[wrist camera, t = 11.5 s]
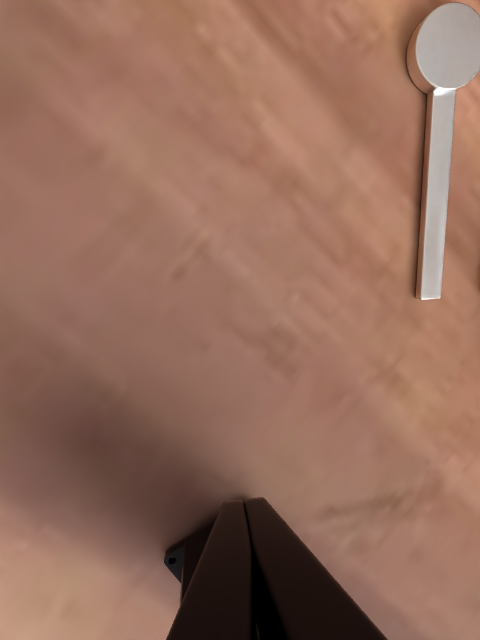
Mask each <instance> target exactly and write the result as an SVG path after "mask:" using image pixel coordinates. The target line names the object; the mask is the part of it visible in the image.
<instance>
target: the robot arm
mask: <svg viewBox="0 0 480 640" xmlns="http://www.w3.org/2000/svg"><path fill="white" fill-rule="evenodd" d="M171 557H175V558H171ZM164 563H165V565H166V566H167V567H168V569H169V570H170V571H171V572H172V573H173V574H174V576H175V577H176V578H177V579H178V580H179V581H180V583H181V596H180V608H179V610H178V612H177V615H176V617H175V620H174V622H173V624H172V627H171V629H170V632H169V634H168V636H167V639H166V640H388V639H387V638H386V637H385V636H384V635H383V634H382V632H381V631H380V630H379V629H378V628H377V627H376V626H375V624H374V623H373V622H372V621H371V620H370V619H369V618H368V616H367V615H366V614H365V613H364V612H363V611H362V610H361V608H360V607H359V606H358V605H357V604H356V603H355V602H354V600H353V599H352V598H351V597H350V596H349V595H348V594H347V592H346V591H345V590H344V589H343V588H342V587H341V585H340V584H339V583H338V582H337V581H336V580H335V579H334V577H333V576H332V575H331V574H330V573H329V572H328V571H327V569H326V568H325V567H324V566H323V565H322V564H321V563H320V561H319V560H318V559H317V558H316V557H315V556H314V555H313V553H312V552H311V551H310V550H309V549H308V548H307V547H306V545H305V544H304V543H303V542H302V541H301V540H300V539H299V537H298V536H297V535H296V534H295V533H294V532H293V530H292V529H291V528H290V527H289V526H288V525H287V524H286V522H285V521H284V520H283V519H282V518H281V517H280V516H279V514H278V513H277V512H276V511H275V510H274V509H273V508H272V506H271V505H270V504H269V503H268V502H267V501H266V500H265V499H264V498H262V497H259V498H251V499H246V500H245V501H244V502H243V501H242V500H234V501H226V502H224V503H223V505H222V507H221V509H220V512H219V514H218V517H217V519H216V521H215V522H213V523H212V524H210V525H208V526H207V527H205V528H203V529H202V530H200V531H198V532H197V533H195V534H193V535H192V536H190V537H188V538H187V539H185V540H183V541H182V542H180V543H178V544H177V545H175V546H173V547H171V548H170V549H168V550H167V551H166V553H165V556H164Z"/></svg>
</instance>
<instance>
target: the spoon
mask: <svg viewBox="0 0 480 640" xmlns="http://www.w3.org/2000/svg"><path fill="white" fill-rule="evenodd" d="M407 68H408V72H409V75H410V77H411V79H412V81H413V82H414V84H415V85H416V86H417V87H418V88H419V89H420V90H421V91H422V92H424V93H426V94H428V95H427V112H426V130H425V147H424V164H423V181H422V198H421V215H420V232H419V250H418V267H417V284H416V299H420V300H425V299H439V298H441V286H442V273H443V259H444V246H445V232H446V219H447V205H448V192H449V178H450V165H451V151H452V138H453V125H454V111H455V98H456V91H457V90H458V89H460V88H461V87H463V86H465V85H466V84H468V83H469V82H470V81H471V80H472V79H473V78H474V77H475V76H476V75H477V73H478V72H479V70H480V16H479V14H478V13H477V12H476V11H475V10H474V9H473V8H471V7H470V6H468V5H466V4H463V3H457V2H452V3H447V4H443V5H441V6H439V7H437V8H436V9H434V10H433V11H432V12H431V13H430V14H429V15H428V16H427V17H426V18H425V19H424V20H423V21H422V22H421V23H420V24H419V25H418V26H417V28H416V29H415V31H414V32H413V34H412V36H411V38H410V41H409V44H408V48H407Z"/></svg>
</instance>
